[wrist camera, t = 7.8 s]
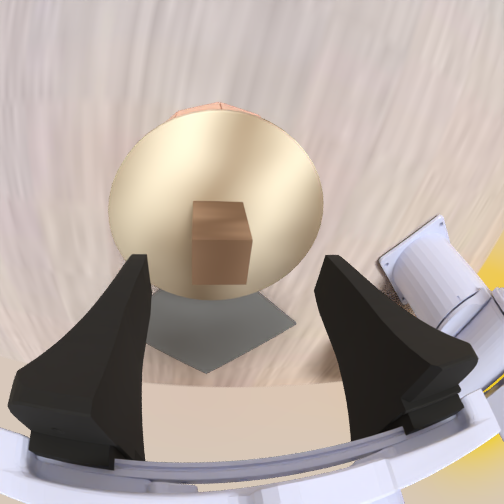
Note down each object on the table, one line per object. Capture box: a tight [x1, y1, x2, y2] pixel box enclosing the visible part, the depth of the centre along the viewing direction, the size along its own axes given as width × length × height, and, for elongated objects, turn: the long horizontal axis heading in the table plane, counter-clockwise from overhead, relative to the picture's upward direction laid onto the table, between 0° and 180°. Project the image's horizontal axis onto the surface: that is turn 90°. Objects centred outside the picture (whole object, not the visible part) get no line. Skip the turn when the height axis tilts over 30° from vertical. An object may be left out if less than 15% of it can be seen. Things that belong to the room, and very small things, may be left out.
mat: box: [146, 289, 296, 374], centre depth 29 cm, size 13×13×1 cm
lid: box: [108, 109, 323, 300], centre depth 15 cm, size 12×12×4 cm
